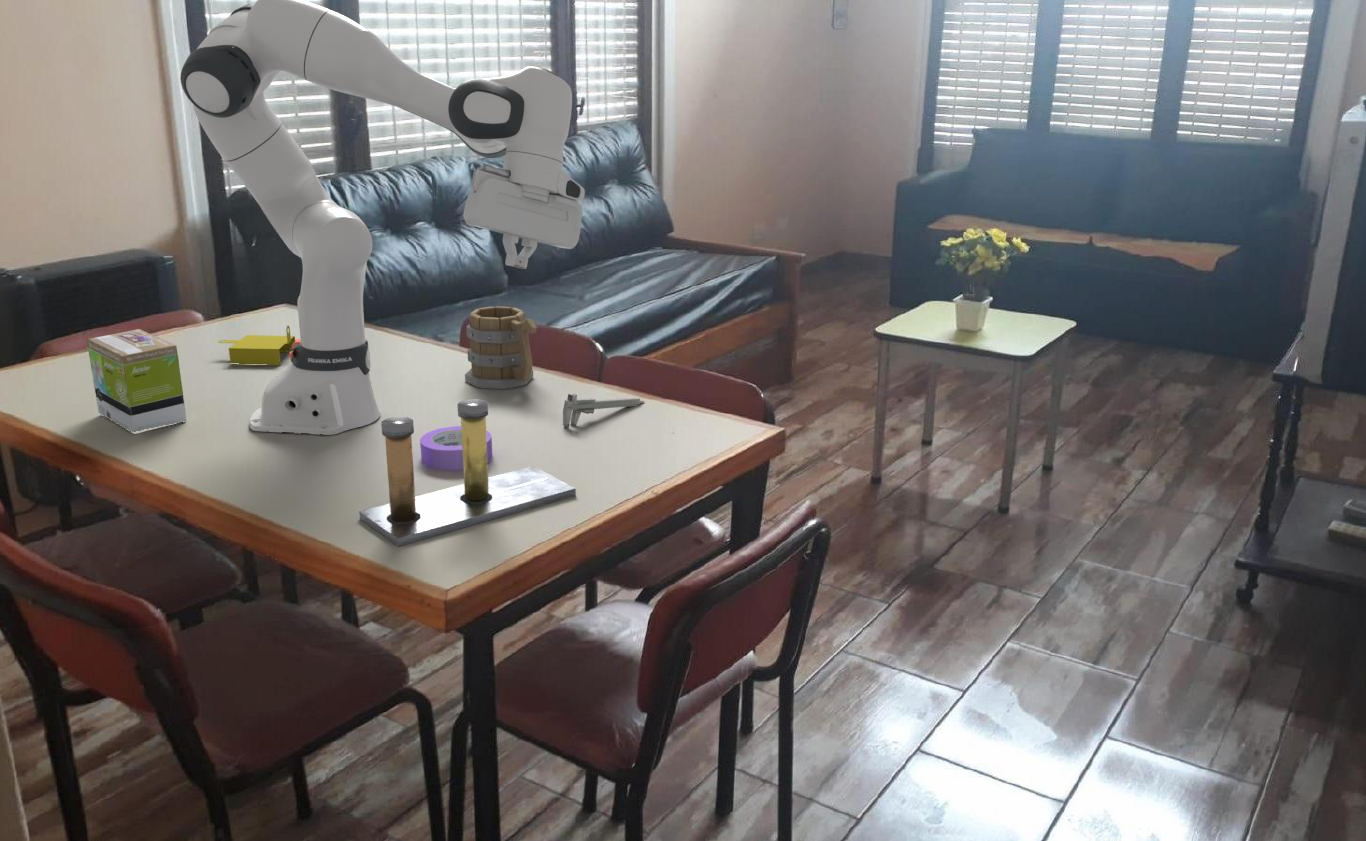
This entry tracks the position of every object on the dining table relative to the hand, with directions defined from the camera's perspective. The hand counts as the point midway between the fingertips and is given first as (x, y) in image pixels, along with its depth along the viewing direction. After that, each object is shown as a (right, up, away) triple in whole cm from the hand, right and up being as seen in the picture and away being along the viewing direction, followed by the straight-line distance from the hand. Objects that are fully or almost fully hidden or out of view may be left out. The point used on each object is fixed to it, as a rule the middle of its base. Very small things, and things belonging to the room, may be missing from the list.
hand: (515, 267), depth 184 cm
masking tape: (-12, -30, +16) cm, 36 cm away
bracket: (-65, -11, +70) cm, 96 cm away
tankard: (-9, -17, +55) cm, 58 cm away
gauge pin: (-5, -35, -3) cm, 35 cm away
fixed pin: (-15, -37, -10) cm, 42 cm away
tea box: (-72, -24, +32) cm, 82 cm away
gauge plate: (-6, -37, -3) cm, 37 cm away
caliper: (+11, -23, +38) cm, 46 cm away
